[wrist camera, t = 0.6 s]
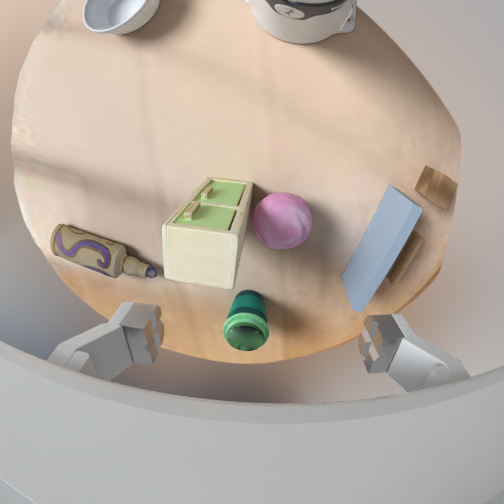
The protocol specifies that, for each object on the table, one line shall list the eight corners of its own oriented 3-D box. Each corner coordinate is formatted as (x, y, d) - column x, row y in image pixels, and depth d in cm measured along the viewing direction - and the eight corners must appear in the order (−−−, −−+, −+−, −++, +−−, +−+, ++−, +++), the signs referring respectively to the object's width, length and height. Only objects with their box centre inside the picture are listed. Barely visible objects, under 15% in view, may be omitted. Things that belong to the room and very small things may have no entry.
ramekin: (176, -21, 26) (162, -36, 20) (155, 38, 33) (136, 29, 27) (115, -15, 26) (96, -25, 20) (95, 41, 32) (73, 36, 26)
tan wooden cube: (425, 165, 39) (445, 175, 33) (439, 174, 40) (460, 185, 34) (414, 189, 42) (432, 202, 36) (429, 197, 42) (447, 211, 36)
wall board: (388, 184, 42) (413, 203, 33) (420, 201, 43) (447, 223, 34) (341, 276, 52) (351, 309, 43) (372, 287, 52) (386, 319, 44)
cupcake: (259, 232, 49) (255, 261, 40) (251, 185, 45) (245, 205, 36) (309, 227, 47) (316, 256, 39) (305, 179, 43) (313, 198, 35)
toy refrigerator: (255, 177, 44) (239, 229, 26) (250, 218, 48) (233, 292, 29) (207, 171, 44) (159, 219, 26) (205, 212, 48) (162, 280, 29)
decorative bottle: (66, 246, 54) (50, 260, 48) (65, 218, 51) (47, 230, 45) (159, 281, 56) (148, 300, 50) (164, 252, 53) (151, 270, 47)
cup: (224, 300, 57) (213, 342, 46) (243, 273, 53) (235, 315, 43) (257, 317, 58) (252, 360, 48) (278, 292, 55) (278, 335, 44)
